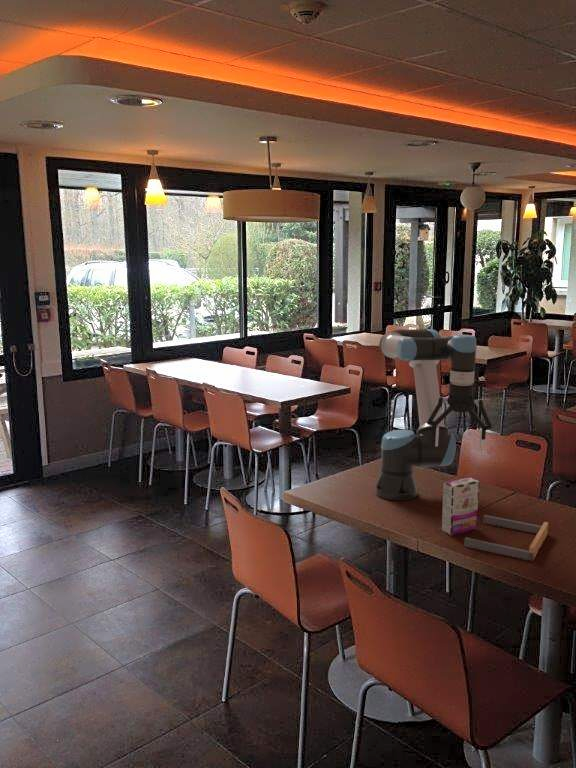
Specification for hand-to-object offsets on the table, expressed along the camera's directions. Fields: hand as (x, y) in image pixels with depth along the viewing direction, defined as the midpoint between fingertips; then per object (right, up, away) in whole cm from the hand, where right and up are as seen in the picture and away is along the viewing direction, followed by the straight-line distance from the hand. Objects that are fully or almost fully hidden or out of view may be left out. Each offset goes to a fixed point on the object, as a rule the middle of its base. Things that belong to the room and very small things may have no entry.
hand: (457, 447), depth 222 cm
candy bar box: (0, -26, -3) cm, 27 cm away
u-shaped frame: (+12, -28, -11) cm, 32 cm away
